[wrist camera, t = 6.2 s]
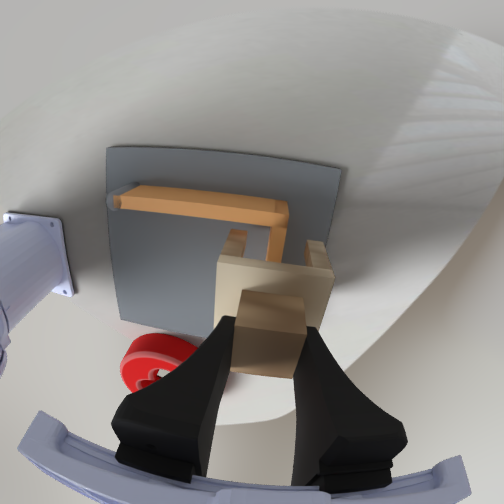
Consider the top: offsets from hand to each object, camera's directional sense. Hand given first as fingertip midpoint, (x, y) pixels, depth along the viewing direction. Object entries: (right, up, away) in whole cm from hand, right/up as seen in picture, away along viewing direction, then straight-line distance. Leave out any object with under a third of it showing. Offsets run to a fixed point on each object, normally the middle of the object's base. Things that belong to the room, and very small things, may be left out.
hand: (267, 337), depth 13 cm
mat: (-4, +4, +8) cm, 9 cm away
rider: (0, +3, +5) cm, 6 cm away
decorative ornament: (-9, -8, +14) cm, 18 cm away
